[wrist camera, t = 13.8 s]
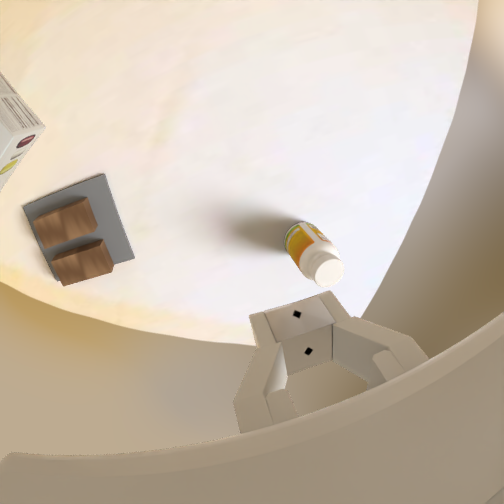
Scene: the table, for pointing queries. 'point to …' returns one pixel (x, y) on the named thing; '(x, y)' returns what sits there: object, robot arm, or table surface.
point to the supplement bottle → (314, 254)
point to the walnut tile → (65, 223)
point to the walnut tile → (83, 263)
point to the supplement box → (15, 129)
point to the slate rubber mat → (102, 211)
